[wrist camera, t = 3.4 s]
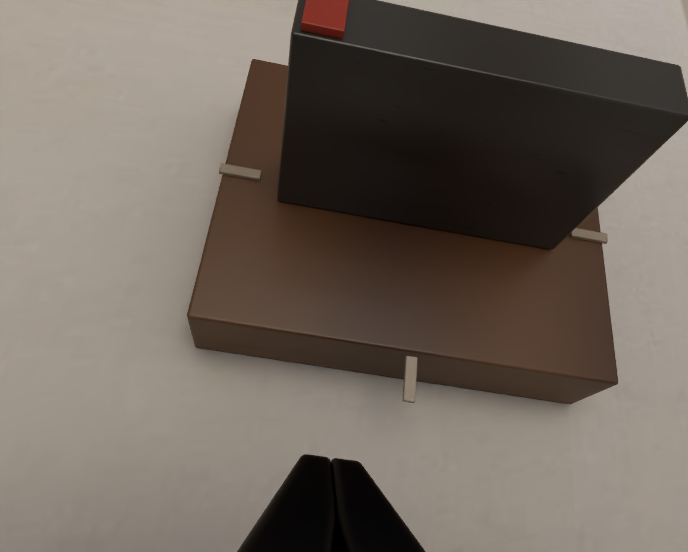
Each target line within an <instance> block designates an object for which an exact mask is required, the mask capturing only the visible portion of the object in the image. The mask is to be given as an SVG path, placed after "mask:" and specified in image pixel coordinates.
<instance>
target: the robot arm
mask: <svg viewBox="0 0 688 552" xmlns="http://www.w3.org/2000/svg"><path fill="white" fill-rule="evenodd" d="M237 552H425V550H424V549H423V548H422V546H421V545H420V543H419V542H418V541H417V539H416V538H415V537H414V535H413V534H412V533H411V531H410V530H409V528H408V527H407V526H406V524H405V523H404V522H403V520H402V519H401V518H400V516H399V515H398V513H397V512H396V511H395V509H394V508H393V507H392V505H391V504H390V502H389V501H388V500H387V498H386V497H385V496H384V494H383V493H382V492H381V490H380V489H379V487H378V486H377V485H376V483H375V482H374V481H373V479H372V478H371V477H370V475H369V474H368V472H367V471H366V470H365V468H364V467H363V466H362V464H361V463H359V462H358V461H353V460H345V459H337V458H335V459H333V460H332V461H330V459H328V458H327V457H322V456H315V455H307V454H306V455H302V456H301V457H300V459H299V460H298V462H297V463H296V465H295V466H294V468H293V469H292V471H291V472H290V474H289V475H288V477H287V478H286V480H285V481H284V483H283V484H282V486H281V487H280V488H279V490H278V491H277V493H276V494H275V496H274V497H273V499H272V500H271V502H270V503H269V505H268V506H267V508H266V509H265V511H264V512H263V514H262V515H261V517H260V518H259V520H258V521H257V523H256V524H255V526H254V527H253V529H252V530H251V532H250V533H249V535H248V536H247V538H246V539H245V541H244V542H243V544H242V545H241V547H240V548H239V550H238V551H237Z"/></svg>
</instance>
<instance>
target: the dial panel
mask: <svg viewBox="0 0 688 552" xmlns="http://www.w3.org/2000/svg"><path fill="white" fill-rule="evenodd" d="M287 75H288V66H286V65H281V64H276V63H271V62H266V61H261V60H256V59H253V60H252V61H251V65H250V69H249V73H248V77H247V81H246V85H245V89H244V93H243V97H242V101H241V105H240V109H239V112H238V116H237V120H236V124H235V128H234V132H233V136H232V140H231V144H230V148H229V152H228V156H227V160H226V164H223V163H221V166H220V170H219V174H223V175H222V179H221V183H220V187H219V191H218V195H217V199H216V203H215V207H214V211H213V215H212V219H211V223H210V227H209V230H208V234H207V238H206V242H205V246H204V250H203V254H202V258H201V262H200V266H199V270H198V274H197V278H196V282H195V286H194V289H193V293H192V297H191V301H190V305H189V309H188V313H187V317H188V321H189V325H190V329H191V332H192V336H193V340H194V344H195V346H196V347H198V348H205V349H211V350H218V351H225V352H231V353H238V354H244V355H251V356H258V357H264V358H271V359H277V360H284V361H290V362H297V363H304V364H310V365H317V366H323V367H330V368H337V369H343V370H350V371H356V372H363V373H370V374H376V375H383V376H389V377H396V378H403V379H404V385H403V402H410V403H414V402H415V397H416V381H422V382H429V383H436V384H442V385H449V386H455V387H462V388H469V389H475V390H482V391H488V392H495V393H502V394H508V395H515V396H521V397H528V398H535V399H541V400H548V401H554V402H561V403H568V404H572V403H575V402H577V401H579V400H582V399H584V398H586V397H589V396H591V395H593V394H596V393H598V392H600V391H603V390H605V389H607V388H610V387H612V386H614V385H617V384H618V376H617V368H616V360H615V351H614V343H613V334H612V326H611V317H610V309H609V300H608V292H607V283H606V275H605V266H604V258H603V249H602V243H604V244H606V243H607V242H608V239H607V234H605V233H601V232H600V224H599V215H598V207H597V208H596V209H595V210H594V211H593V212H592V213H591V214H590V215H589V216H588V217H587V218H586V219H585V220H584V221H583V222H582V223H581V224H579V225H578V226H577V227H576V228H575V229H574V230H573V231H572V232H571V233H570V234H569V235H568V236H567V237H566V238H565V239H564V240H563V241H562V242H561V243H560V244H559V245H558V246H556V247H555V248H554V249H546V248H541V247H535V246H530V245H524V244H518V243H513V242H507V241H502V240H496V239H490V238H485V237H479V236H474V235H468V234H462V233H457V232H451V231H446V230H440V229H434V228H429V227H423V226H418V225H412V224H406V223H401V222H395V221H390V220H384V219H378V218H373V217H367V216H362V215H356V214H350V213H345V212H339V211H333V210H328V209H322V208H317V207H311V206H305V205H300V204H294V203H289V202H283V201H279V200H277V191H278V180H279V168H280V156H281V145H282V133H283V121H284V110H285V98H286V86H287Z"/></svg>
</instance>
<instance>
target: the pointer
mask: <svg viewBox="0 0 688 552" xmlns="http://www.w3.org/2000/svg"><path fill="white" fill-rule="evenodd" d="M687 121H688V97H687V92H686V88H685V84H684V79H683V75H682V71H681V67H680V66H679V65H675V64H670V63H665V62H661V61H656V60H652V59H647V58H642V57H638V56H633V55H628V54H624V53H619V52H614V51H610V50H605V49H601V48H596V47H591V46H587V45H582V44H577V43H573V42H568V41H563V40H559V39H554V38H550V37H545V36H540V35H536V34H531V33H526V32H522V31H517V30H512V29H508V28H503V27H499V26H494V25H489V24H485V23H480V22H475V21H471V20H466V19H461V18H457V17H452V16H448V15H443V14H438V13H434V12H429V11H424V10H420V9H415V8H410V7H406V6H401V5H397V4H392V3H387V2H383V1H378V0H298V4H297V8H296V13H295V18H294V22H293V27H292V32H291V40H290V51H289V63H288V75H287V86H286V98H285V110H284V121H283V133H282V145H281V156H280V168H279V180H278V191H277V200H279V201H283V202H289V203H294V204H300V205H305V206H311V207H317V208H322V209H328V210H333V211H339V212H345V213H350V214H356V215H362V216H367V217H373V218H378V219H384V220H390V221H395V222H401V223H406V224H412V225H418V226H423V227H429V228H434V229H440V230H446V231H451V232H457V233H462V234H468V235H474V236H479V237H485V238H490V239H496V240H502V241H507V242H513V243H518V244H524V245H530V246H535V247H541V248H546V249H554V248H555V247H556V246H558V245H559V244H560V243H561V242H562V241H563V240H564V239H565V238H566V237H567V236H568V235H569V234H570V233H571V232H572V231H573V230H574V229H575V228H576V227H577V226H578V225H579V224H581V223H582V222H583V221H584V220H585V219H586V218H587V217H588V216H589V215H590V214H591V213H592V212H593V211H594V210H595V209H596V208H597V207H598V206H599V205H600V204H601V203H602V202H604V201H605V200H606V199H607V198H608V197H609V196H610V195H611V194H612V193H613V192H614V191H615V190H616V189H617V188H618V187H619V186H620V185H621V184H622V183H623V182H624V181H625V180H626V179H628V178H629V177H630V176H631V175H632V174H633V173H634V172H635V171H636V170H637V169H638V168H639V167H640V166H641V165H642V164H643V163H644V162H645V161H646V160H647V159H648V158H649V157H651V156H652V155H653V154H654V153H655V152H656V151H657V150H658V149H659V148H660V147H661V146H662V145H663V144H664V143H665V142H666V141H667V140H668V139H669V138H670V137H671V136H672V135H674V134H675V133H676V132H677V131H678V130H679V129H680V128H681V127H682V126H683V125H684V124H685V123H686V122H687Z"/></svg>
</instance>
